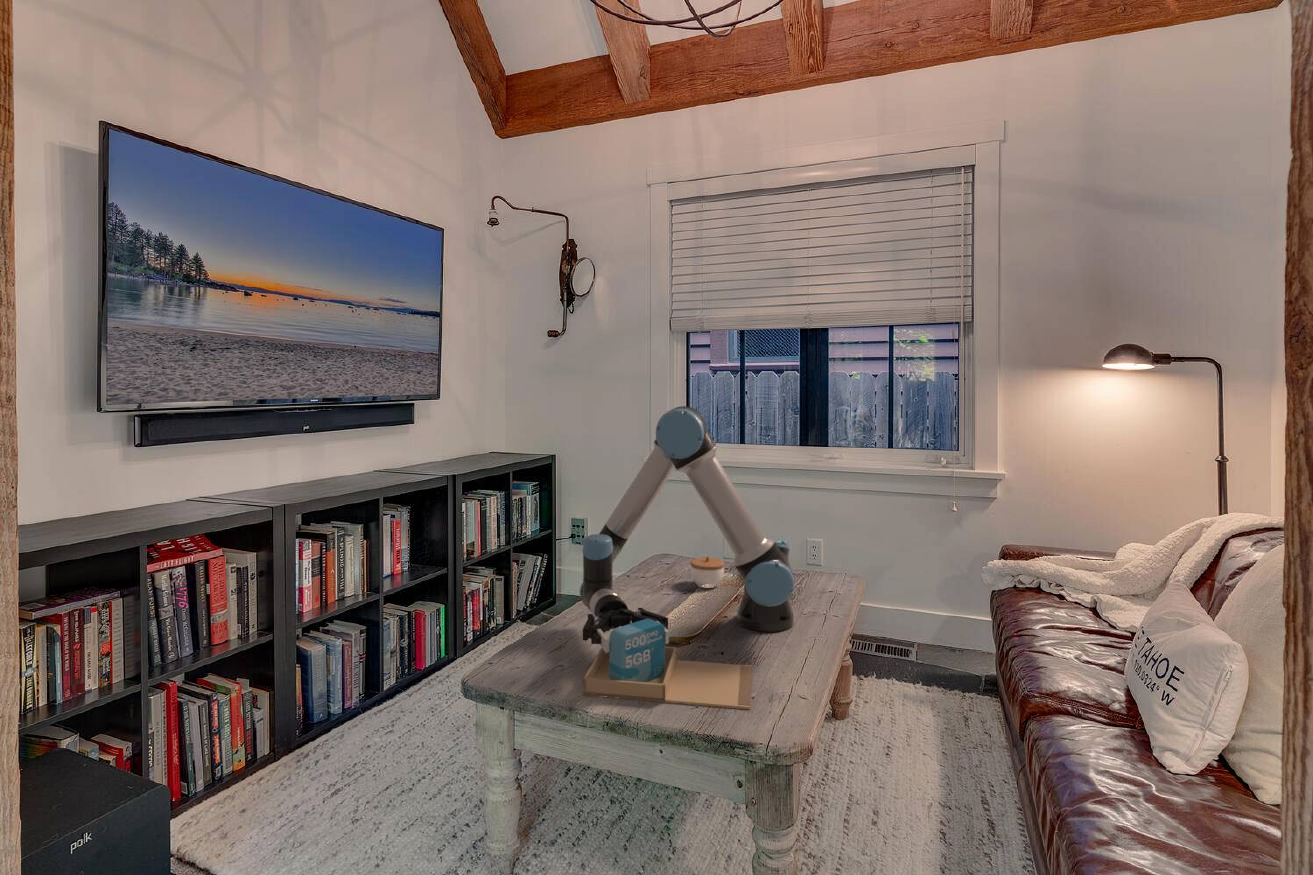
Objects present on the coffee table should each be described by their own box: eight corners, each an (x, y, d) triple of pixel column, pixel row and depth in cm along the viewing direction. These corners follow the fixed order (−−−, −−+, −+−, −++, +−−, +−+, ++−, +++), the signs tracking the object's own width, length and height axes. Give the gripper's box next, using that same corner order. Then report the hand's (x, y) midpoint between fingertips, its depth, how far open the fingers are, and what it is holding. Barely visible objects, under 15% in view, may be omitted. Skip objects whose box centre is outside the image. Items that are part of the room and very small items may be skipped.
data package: (622, 692, 138) (622, 636, 137) (608, 684, 141) (608, 629, 140) (665, 675, 146) (665, 622, 145) (651, 668, 149) (652, 616, 148)
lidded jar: (701, 593, 203) (701, 563, 202) (684, 583, 213) (684, 554, 212) (730, 588, 208) (731, 558, 207) (712, 578, 218) (712, 550, 217)
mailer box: (751, 667, 152) (751, 652, 151) (750, 709, 133) (750, 692, 132) (604, 656, 157) (604, 642, 157) (583, 695, 138) (583, 678, 138)
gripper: (656, 617, 167) (690, 650, 147) (558, 630, 158) (581, 667, 138) (656, 588, 166) (691, 617, 146) (558, 599, 157) (581, 632, 137)
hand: (637, 641), depth 142 cm, fingers open, 13 cm apart
